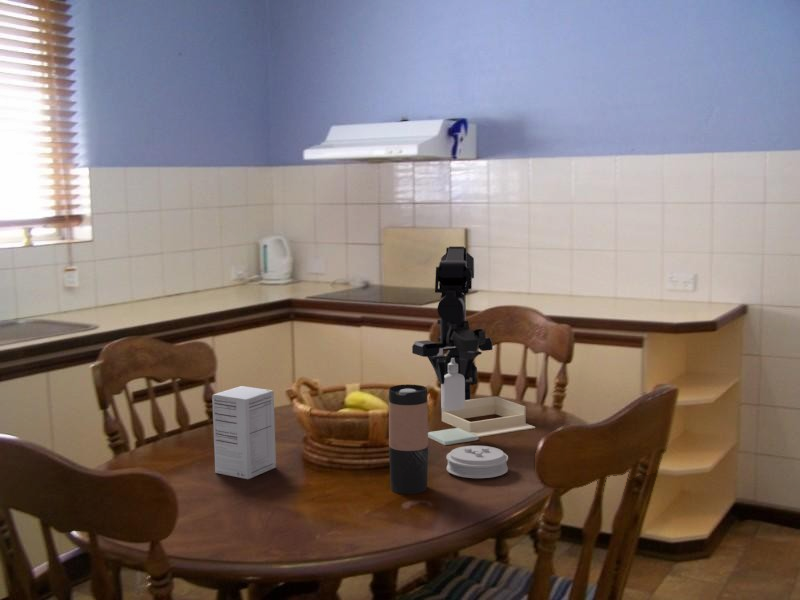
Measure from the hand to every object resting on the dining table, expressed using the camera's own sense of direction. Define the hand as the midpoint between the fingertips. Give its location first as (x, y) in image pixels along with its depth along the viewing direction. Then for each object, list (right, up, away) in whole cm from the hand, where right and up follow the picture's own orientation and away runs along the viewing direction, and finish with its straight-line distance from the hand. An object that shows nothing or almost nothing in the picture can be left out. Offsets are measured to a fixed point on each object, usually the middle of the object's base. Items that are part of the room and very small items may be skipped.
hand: (452, 382), depth 221 cm
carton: (+9, -12, +13) cm, 20 cm away
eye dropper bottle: (0, -6, +1) cm, 7 cm away
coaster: (0, -13, +1) cm, 13 cm away
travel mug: (-11, -18, -35) cm, 40 cm away
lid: (+4, -17, -25) cm, 30 cm away
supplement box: (-45, -17, -22) cm, 53 cm away
